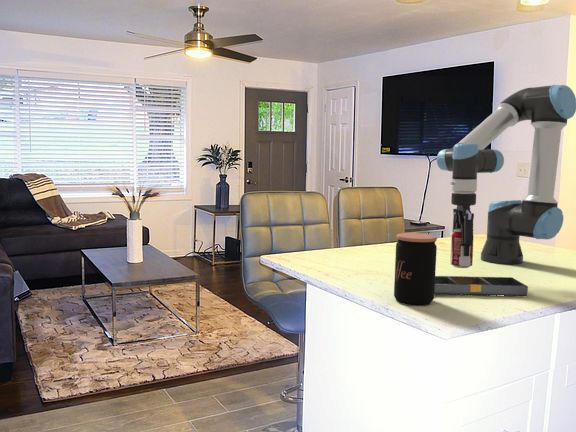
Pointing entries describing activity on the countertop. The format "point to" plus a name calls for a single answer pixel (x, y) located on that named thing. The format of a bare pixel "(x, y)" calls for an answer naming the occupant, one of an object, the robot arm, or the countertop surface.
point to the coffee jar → (415, 268)
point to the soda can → (458, 249)
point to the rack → (479, 286)
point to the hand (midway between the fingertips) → (461, 263)
